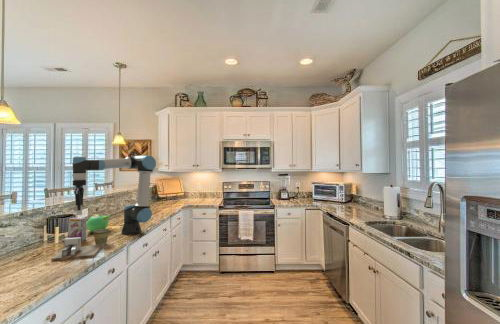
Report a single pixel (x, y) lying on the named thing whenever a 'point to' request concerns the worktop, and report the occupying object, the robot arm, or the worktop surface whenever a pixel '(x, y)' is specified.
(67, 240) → the lock collar
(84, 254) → the board
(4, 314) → the worktop surface
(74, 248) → the tong jaw
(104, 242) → the tan flower pot
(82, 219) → the candy bar box
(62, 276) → the worktop surface
